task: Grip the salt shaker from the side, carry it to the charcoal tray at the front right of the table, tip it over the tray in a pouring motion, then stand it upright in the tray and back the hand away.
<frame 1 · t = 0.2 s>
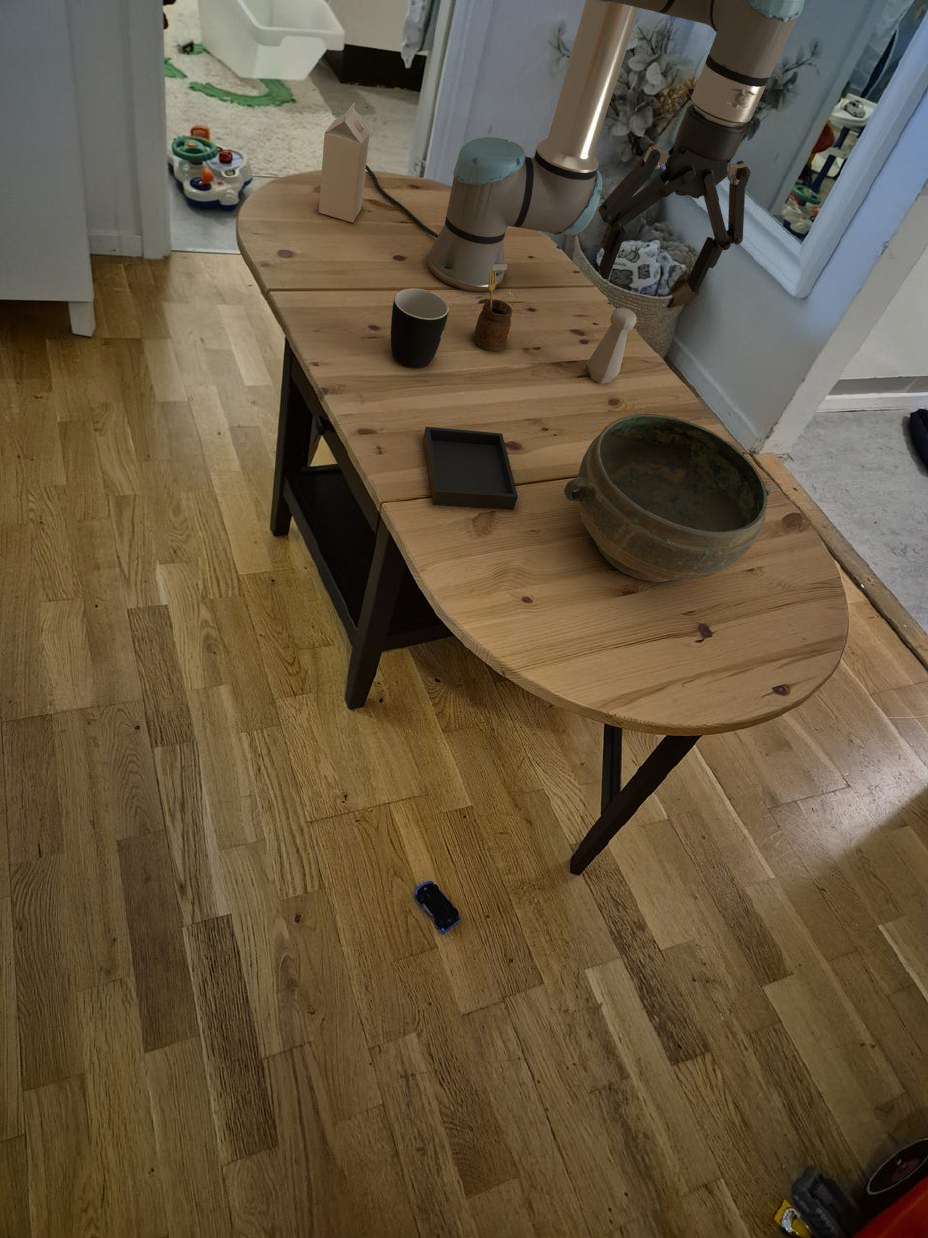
hand: (648, 280, 111), 28 cm above the table, tool pointing down, fingers open, 13 cm apart
utensil holder: (488, 342, 144), on the table
bowl: (640, 546, 119), on the table
tray: (467, 473, 120), on the table
mug: (409, 353, 137), on the table
milk carton: (340, 212, 162), on the table
salt shaker: (599, 377, 145), on the table
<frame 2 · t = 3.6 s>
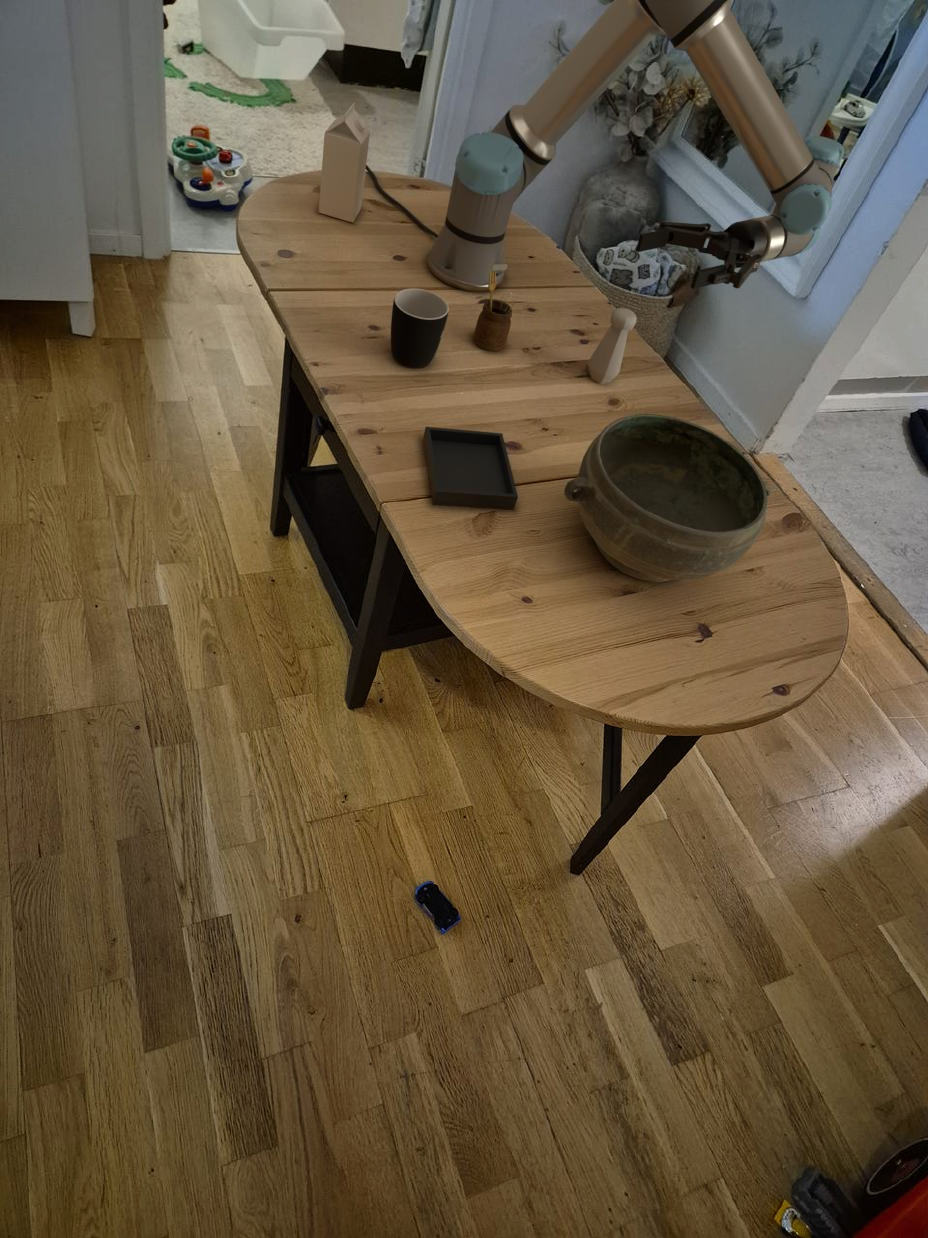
hand: (666, 261, 133), 20 cm above the table, tool horizontal, fingers open, 13 cm apart
nothing on the table moved.
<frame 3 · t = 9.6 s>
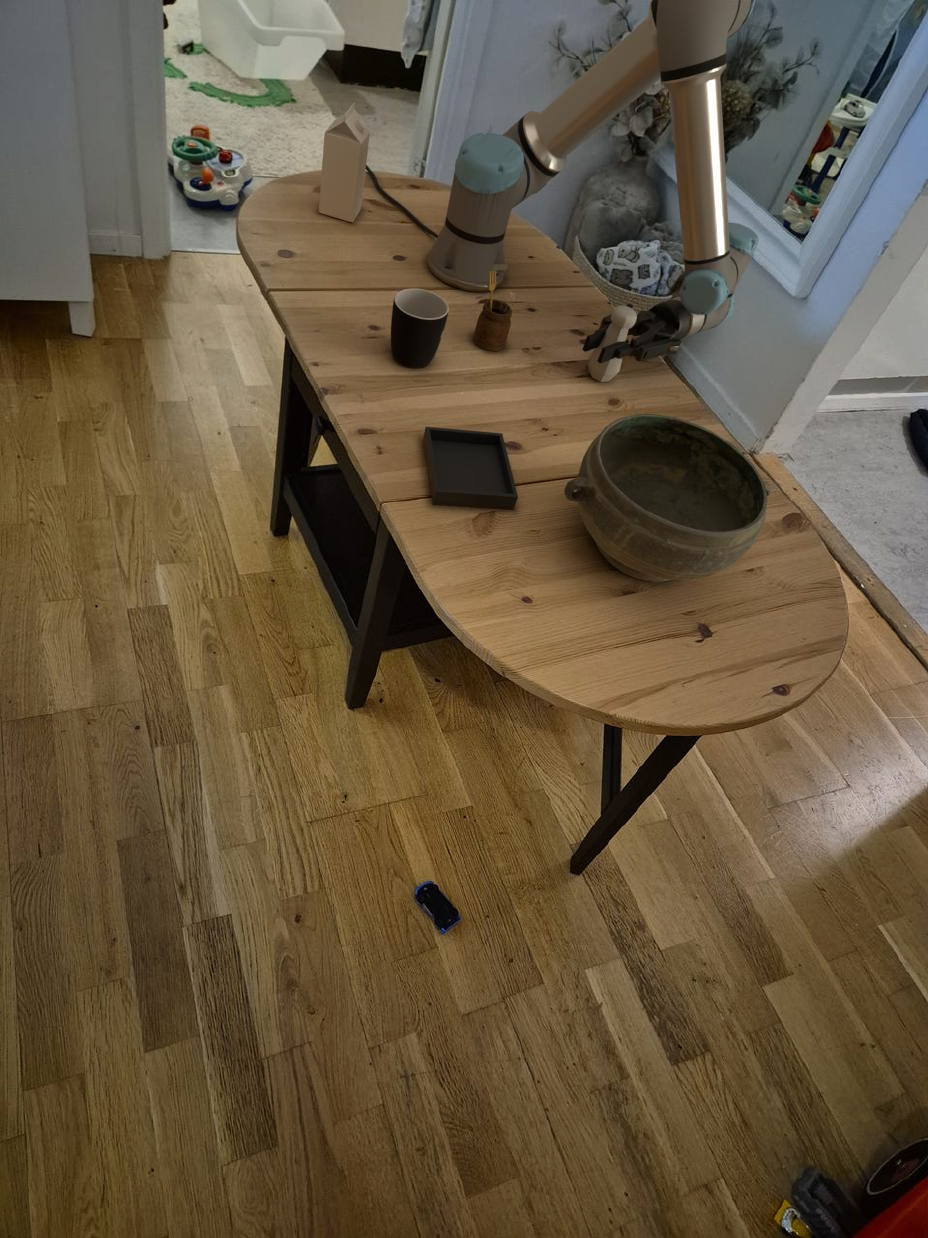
hand: (593, 349, 136), 7 cm above the table, tool horizontal, fingers closed on salt shaker, 3 cm apart
salt shaker: (599, 375, 145), on the table, touching gripper
everything else where it was.
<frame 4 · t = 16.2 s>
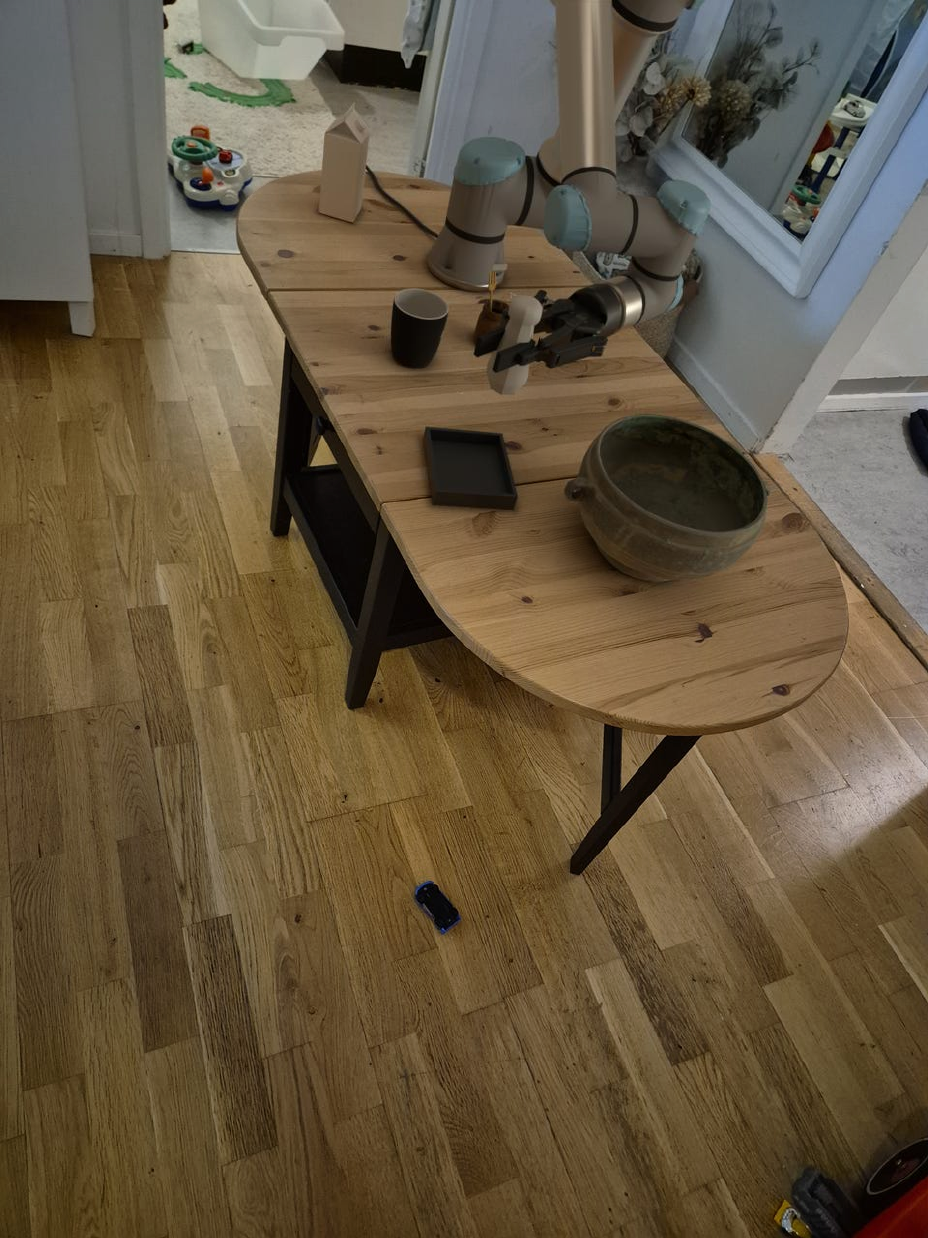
hand: (487, 354, 102), 22 cm above the table, tool horizontal, fingers closed on salt shaker, 3 cm apart
salt shaker: (502, 387, 111), point 15 cm above the table, touching gripper
everything else where it was.
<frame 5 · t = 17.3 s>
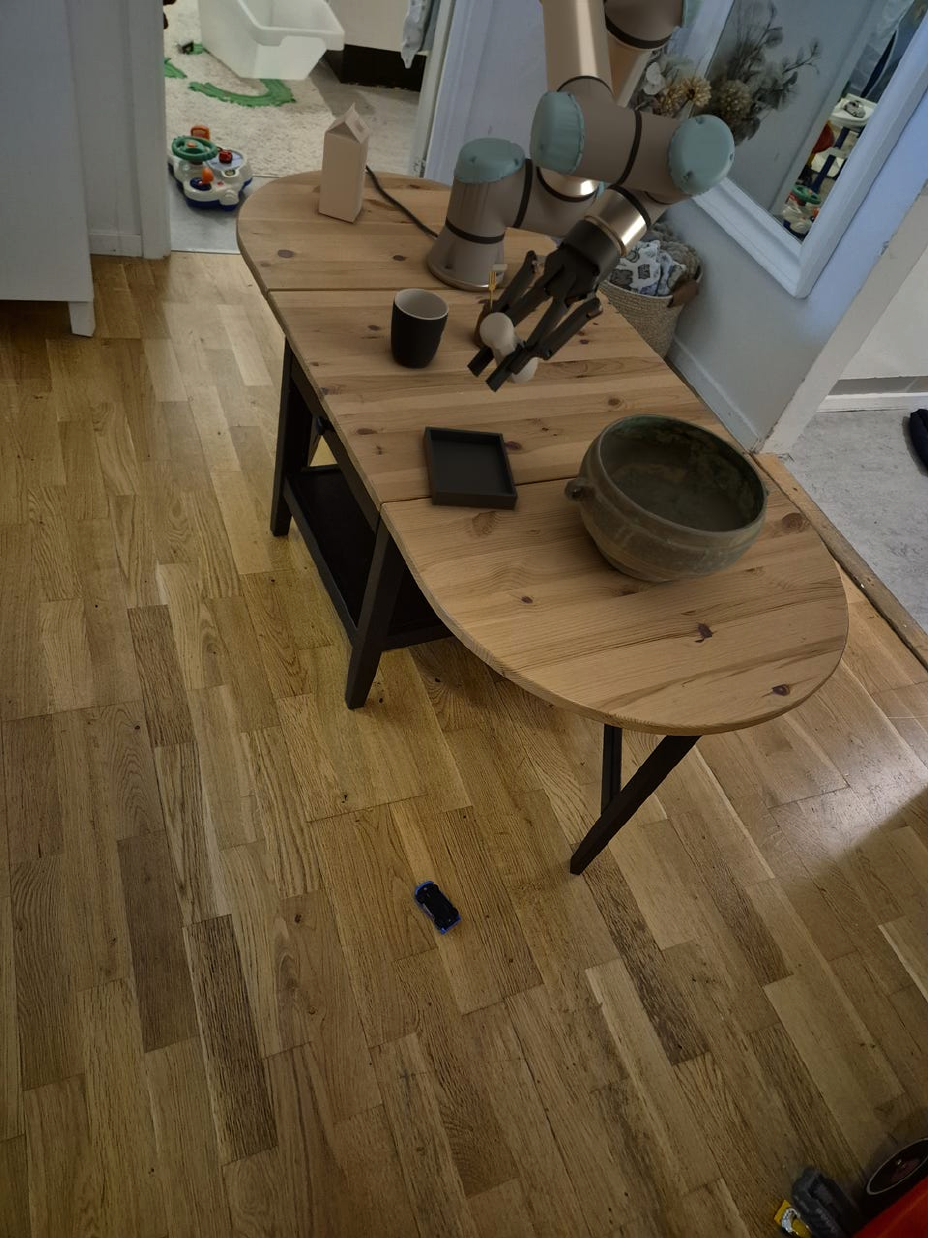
hand: (481, 379, 106), 17 cm above the table, tool tilted 45°, fingers closed on salt shaker, 3 cm apart
salt shaker: (522, 370, 112), point 16 cm above the table, touching gripper
everything else where it was.
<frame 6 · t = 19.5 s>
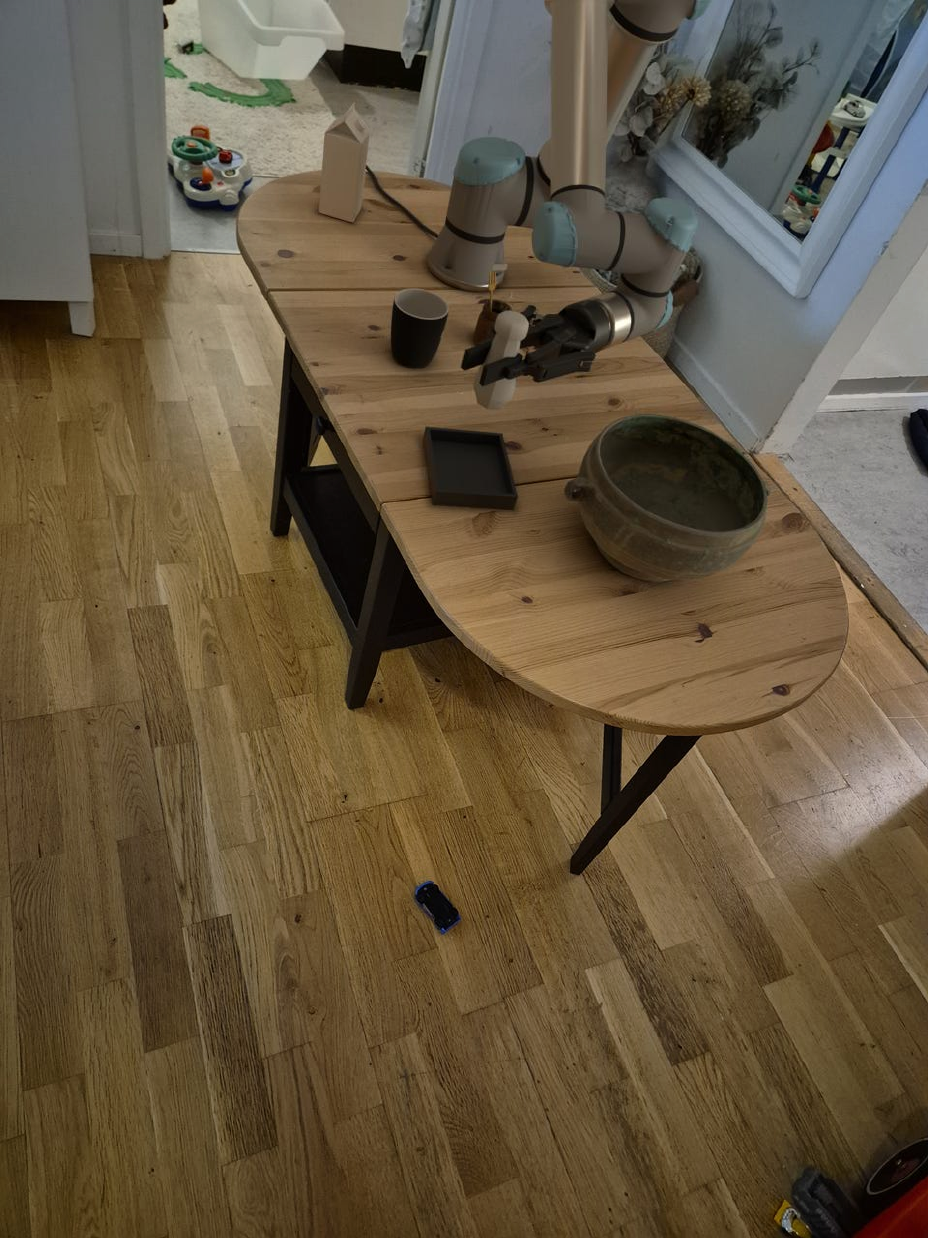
hand: (474, 367, 102), 20 cm above the table, tool horizontal, fingers closed on salt shaker, 3 cm apart
salt shaker: (489, 401, 111), point 13 cm above the table, touching gripper
everything else where it was.
when the fingers open (7 cm above the table, at t = 23.3 s): salt shaker moves 3 cm, resting on tray.
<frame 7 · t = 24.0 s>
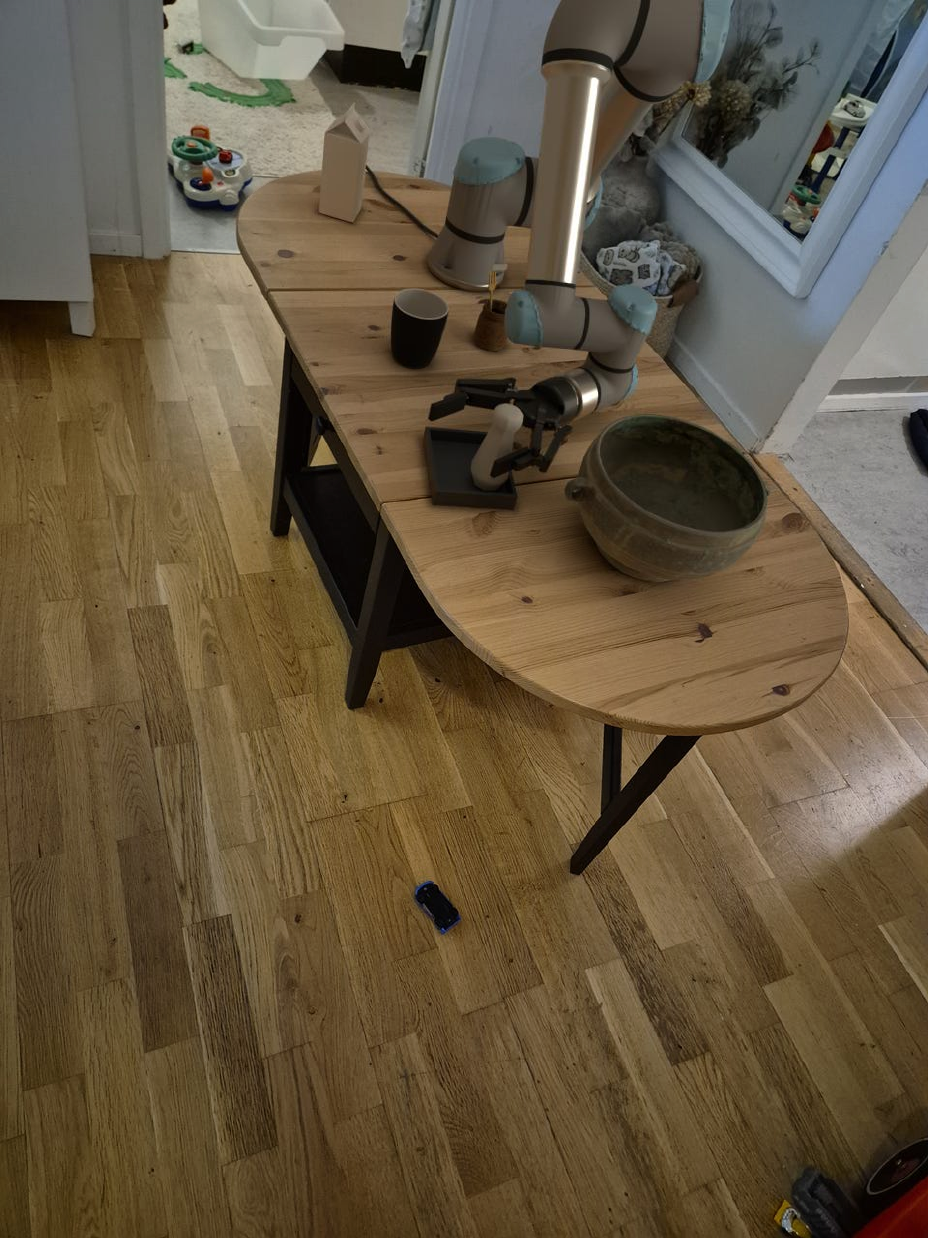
hand: (461, 440, 112), 8 cm above the table, tool horizontal, fingers open, 13 cm apart
salt shaker: (485, 483, 119), point 1 cm above the table, touching tray
everything else where it was.
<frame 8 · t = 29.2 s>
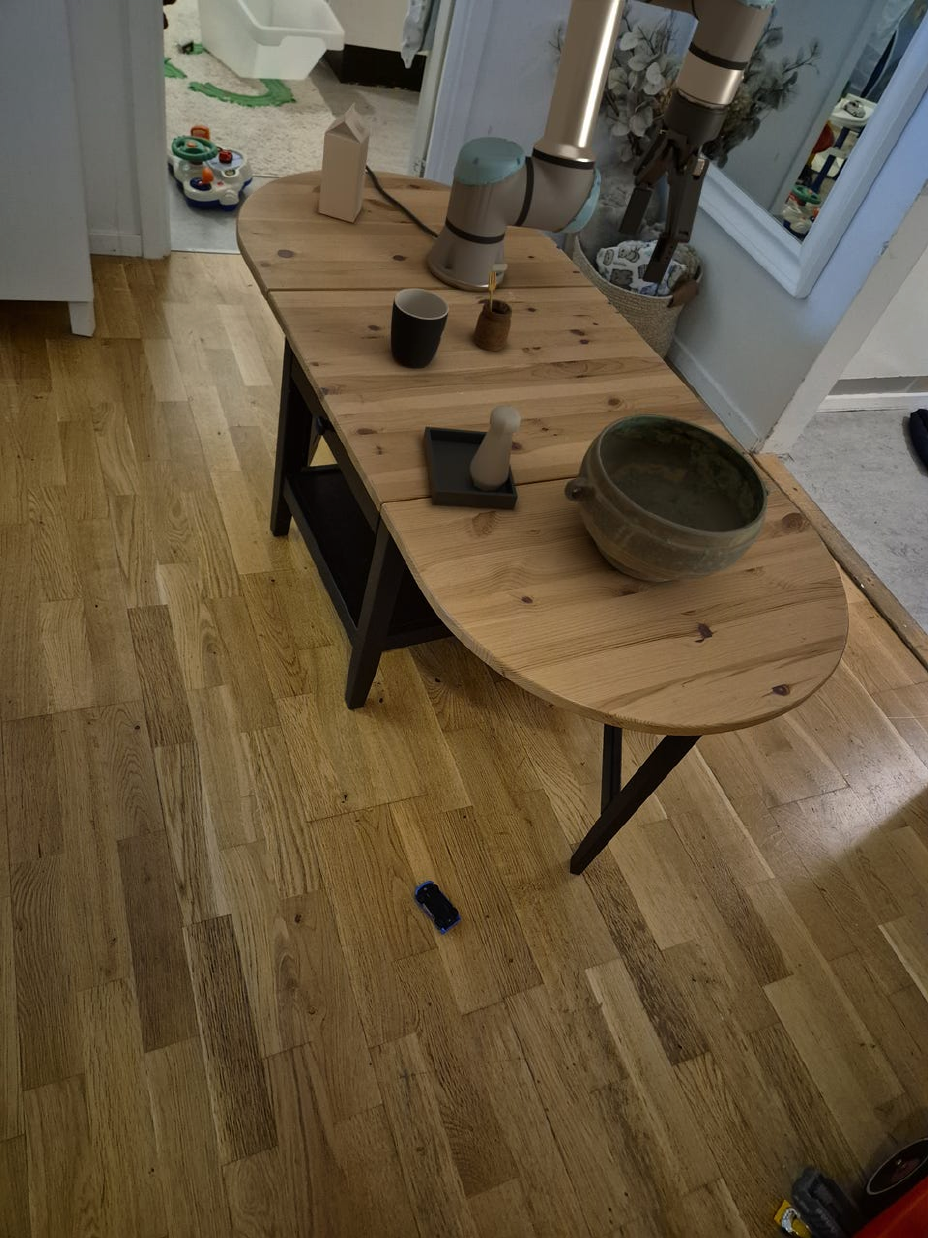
hand: (638, 256, 117), 27 cm above the table, tool pointing down, fingers open, 13 cm apart
nothing on the table moved.
at the end: salt shaker inside the target area in the tray (3.3 cm from its centre), point 0.4 cm above the tray's base; salt shaker tilted 0°; the gripper is holding nothing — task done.
